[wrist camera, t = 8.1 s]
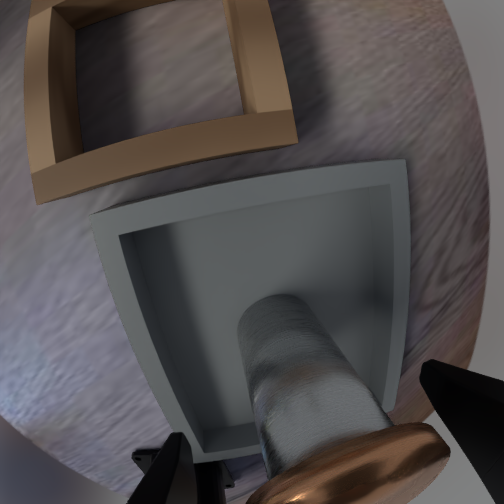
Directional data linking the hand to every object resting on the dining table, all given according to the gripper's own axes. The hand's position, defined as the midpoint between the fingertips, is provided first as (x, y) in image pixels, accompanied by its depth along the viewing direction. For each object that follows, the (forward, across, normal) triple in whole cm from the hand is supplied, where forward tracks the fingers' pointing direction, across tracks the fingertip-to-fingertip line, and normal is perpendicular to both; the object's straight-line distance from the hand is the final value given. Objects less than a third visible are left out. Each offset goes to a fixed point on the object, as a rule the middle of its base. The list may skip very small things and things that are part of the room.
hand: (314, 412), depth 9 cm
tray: (+6, 0, 0) cm, 6 cm away
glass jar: (+6, 0, 0) cm, 6 cm away
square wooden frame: (+6, +4, -14) cm, 15 cm away
